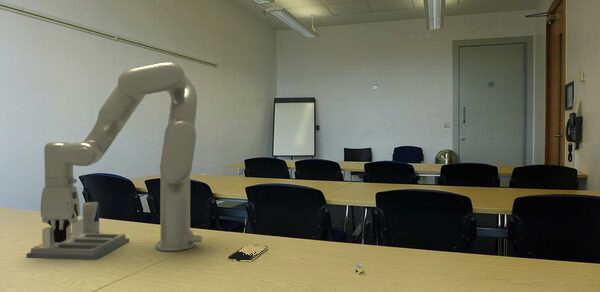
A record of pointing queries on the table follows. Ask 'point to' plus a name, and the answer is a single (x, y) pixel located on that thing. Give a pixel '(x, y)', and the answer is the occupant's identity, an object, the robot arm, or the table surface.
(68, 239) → the middle tab
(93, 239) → the switch bank
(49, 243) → the left tab
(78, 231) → the right tab
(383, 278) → the table surface
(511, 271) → the table surface
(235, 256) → the phone
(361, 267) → the adhesive hook
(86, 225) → the energy drink
